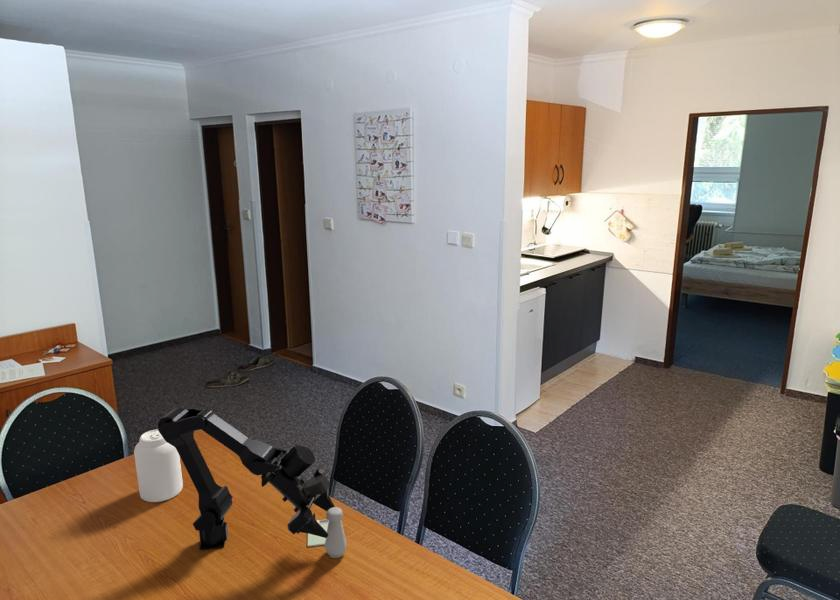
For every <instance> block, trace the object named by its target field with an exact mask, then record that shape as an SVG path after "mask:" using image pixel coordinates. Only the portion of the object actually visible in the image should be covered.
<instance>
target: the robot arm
mask: <svg viewBox="0 0 840 600" xmlns="http://www.w3.org/2000/svg"><path fill="white" fill-rule="evenodd" d="M156 426H157V429H158V431H159V433H160V434H161V435H162V437H163V438H164V440H165V441H166V442H167V443H169V444H171V445H172V446H174V447H175V448H176V450H177V452H178V454H179V456H180V461H181V462H182V463H183V466H184V467H185V469H186V471H187V474H188V475H189V476H188V477H189V478H190V480H191V481H192V483H193V486H194V487H195V490H196V492H197V496H198V502H197V503H198V504H197V505H198V506H197V507H198V510H199V513H200V514H199V516H198V517H197V518H196V519H195V520H194V522H193V523H192V525H193V527H194V530H195V531H198V535H199V546H198V550H199V551H201V550H202V551H203V550H210V549H218V548H224V547H225V544H226V541H227V540H228V535H229V530H228V522H227V521H225V516H226V514H227V513H228V512H229V511H230V509H231V508H232V505H233V500H232V499H233V498H234V497H233V495H232V494H231V493H230V490H229V488H228V486H227V485H224V486H220V484H217V482H216V481H215V478H214V476H213V475H212V473H211V471H210V469H209V467H208V465H207V463H206V460H205V458H204V456H203V454H202V452H201V450H200V448H199V446H198V444H197V442H196V440H195V436H194V435H195V431H199V430H200V431H202V432H204V433H205V434H207V435H208V436H210V437H211V438H212V439H214V440H216V441H217V442H218V443H220V444H221V445H222V446H224V447H225V448H227V449H229V451H231V452H233V453H234V454H235V455H236V456H238V457H239V459H240V461H241V464H242V465H243V467H244V468H246V469H247V470H248V471H249V472H250V473H251V474H253V475H255V476H260V478H261V487H265V486H266V485H267V484H268V483H269V484H270V485H271V486H272V487H274V489H275V490H276V491H278V493H280V495H282V496H283V497H282V501H283V502H284V503H285V502H289V503H290V504H291V505H293V506H294V508H293V511H294V512H295V514H294V515H292V517H291V519H290V520H289V521H288V523H287V531H289V533H291V534H292V535H293V536H294V535H295V534H300V533H303V534H307V535H308V534H313V535H316V536H320V537H324V538H327V537H328V533H327V532H326V531H325V530H324V529H323V528H322V526H321V525H320V524H319V523H318V522H317V521H316V513H315V512H314V513H313V511H312V510H311V508H312V506H313V505H314V506H317V507H319V508H320V509H322V510H324V511H325V512H327V511H328V510H329V509H330V508H333V507H336V506H335V504H334V503H333V500H332V499H331V497H330V485H331V483H330V481H329V479H328V478H329V474H328V473H327V471H325V470H323V469H322V468H320V467H319V468H317V469H315V471H314V472H313V476H311V478H309V479H307V478H306V477H305V476H304V477H303V476H301V475H302V474H303V473H304V472H306V470H308V469H309V468H310V467H311V466H312V465H314V463H315V461H316V457H315V455H314V452H313V451H312V450H311V449H310V448H309V447H306V446H303V445H299V444H298V443H294V445H292V447H291V448H290V449H289V450H286V449H281V448H276V447H273V446H272V445H269V444H268V443H266V442H264V441H261V440H257V439H252V438H249V437H248V436H246V435H245V434H244V433H242V432H241V431H239V430H238V429H236V428H235V427H234V426H232V425H231V424H229V423H228V422H226V421H225V420H224V419H222V418H221V417H219V416H218V415H217V414H216V413H215V412H214V410H212V409H210V408H202V409H201V408H200V409H199V408H197V407H190V408H183V407H174V409H172V410H171V411H169V412H168V413H167V414H165V415H164V416H163V417H162V418H160V419H159V421H158V423H157V425H156ZM300 476H301V477H300ZM299 477H300V478H299Z"/></svg>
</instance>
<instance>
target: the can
mask: <svg viewBox="0 0 840 600" xmlns="http://www.w3.org/2000/svg"><path fill="white" fill-rule="evenodd" d="M133 455H134V462H135V470H136V476H137V477H136V478H137V483H138V492H139V496H140V498H141V499H142V500H143V501H145V502H147V503H160V502H164V501H168V500H171V499H172V498H174V497H176V496H178V495H179V494H180V492H181V491H182V490H183V487H184V481H183V475H182V467H181V466H182V465H181V458H180V456H179V454H178V452H177V450H176V448H175V447H174V446H172V445H171V444H169V443H167V442H166V441H165V440H164V438H163V437H162V435H161V434H160V433H159V431H158V428H157V429H152V430H148V431H146V432H144V433H142V434H141V435H140V437H139V442H137V444H136V445H135V446H134V450H133Z"/></svg>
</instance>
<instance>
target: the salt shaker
mask: <svg viewBox="0 0 840 600" xmlns="http://www.w3.org/2000/svg"><path fill="white" fill-rule="evenodd" d="M325 515H326V519H327V520H328V528H327V533H328V537H327V538H326V541H325V545H324V548H325V552H326V553H327V554H328V556H329V558H333V559H339V558H341V557H342V556H344V555H345V554H344V553H345V551H346V549H347V546H348V543H347V538H346V536H345V530H344V526H343V522H342V520H343V517H344V513H343V510H342V509H341V508H340V507H337V506H335V507H333V508H330V509H329V510H328V511H326V514H325Z"/></svg>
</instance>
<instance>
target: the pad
mask: <svg viewBox="0 0 840 600" xmlns="http://www.w3.org/2000/svg"><path fill="white" fill-rule="evenodd" d="M316 521H317V522H318V523H319V524H320V525H321V526H322V528H323V529H324V530H325V531H326V532H327V528H328V520H327V518H326V519H320V520H318V519H317V520H316ZM325 541H326V538H324V537H320V536H316V535H313V534H308V533H307V547H309V548H310V547H319V546H325Z"/></svg>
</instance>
